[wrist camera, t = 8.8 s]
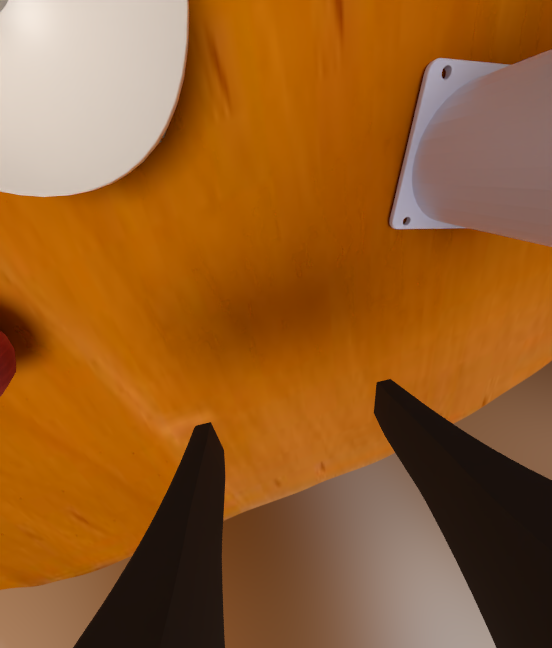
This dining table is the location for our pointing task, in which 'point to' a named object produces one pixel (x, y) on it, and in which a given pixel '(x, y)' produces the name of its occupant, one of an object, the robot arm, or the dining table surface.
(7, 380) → the onion
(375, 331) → the dining table surface
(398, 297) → the dining table surface
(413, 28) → the dining table surface
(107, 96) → the lid
